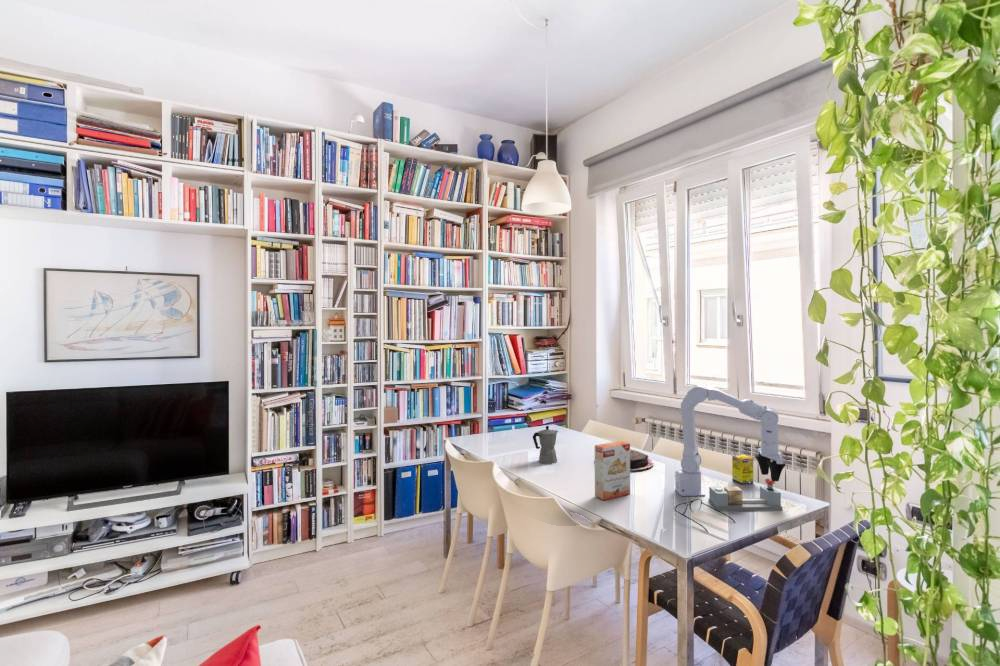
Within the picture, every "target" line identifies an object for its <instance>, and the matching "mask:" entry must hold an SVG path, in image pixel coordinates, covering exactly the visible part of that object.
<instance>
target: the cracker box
mask: <svg viewBox="0 0 1000 666" xmlns="http://www.w3.org/2000/svg"><path fill="white" fill-rule="evenodd" d="M630 449H631V443H628V442H625V441H623V440H619V441H612V442H605V443H601V444H599V443H598V444H594V496H595V497H596V498H598V499H600V500H602V501H606V500H610V499H615V498H618V497H622V496H627V495H631V472H630Z"/></svg>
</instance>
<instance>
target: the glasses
mask: <svg viewBox="0 0 1000 666" xmlns="http://www.w3.org/2000/svg"><path fill="white" fill-rule="evenodd" d="M697 500H700V507H699V508H698V510H700V509H701V507H702V504H703V505H704V506H707V507H709V508H710V509H713V510H715V511H716V512H718V513H720V514H722V515H724V516H725V517H727V518H729V519H730V520H731V521H733V523H734V524H737V523H736V521H735V519H733V517H732V516H729V515H728V514H727V513H724V512H723V511H718V510H717V509H716V508H715V507H712V506H711V505H709V504H706V503H704V502H703V500H702V499H701V498H696V499H694V500H691V501H687V502H682V503H678V504H677V505H676V506H675V507H674V512H675V513H678V514H679V515H681V516H683V517H685V518H687V519H688V520H691V522H694V523H696V524H697V525H699V526H701V527H702V528H703V529H704V531H706V532H707V533H709V531H708V530H707V528H705V526H703V524H701V523H699V522H697V521H695V520H694V519H692V518H690V517H689V516H687V515H685V513H686V512H687V509H688V506H689V509H690V510H691V512H694V511H693V510H692V508H691V506H692V503H694V502H695V501H697ZM683 504H684V505H686V507H685V509H684V512H683V513H681V512H680V511H678V510H677V507H678V506H681V505H683ZM674 516H675V517H676V516H677V515H676V514H674Z"/></svg>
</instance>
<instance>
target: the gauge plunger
mask: <svg viewBox="0 0 1000 666" xmlns="http://www.w3.org/2000/svg"><path fill="white" fill-rule="evenodd" d="M764 483H766V486H767V490H768V491H773V488H774V485H775V483H776V481H772V479H771V478H765V479H764Z"/></svg>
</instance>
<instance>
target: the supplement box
mask: <svg viewBox="0 0 1000 666" xmlns="http://www.w3.org/2000/svg"><path fill="white" fill-rule="evenodd" d="M731 460H732V461H731V462H732V464H731V466H732V468H731V470H732V472H731V473H732V475H731V477H732V478H731V479H732V481H733V482H735V483H737V484H740V485H742V486H743V485H748V484H754V457H752V456H750V455H749V456H748V455H746V454H738V455H732V459H731ZM749 482H751V483H749Z"/></svg>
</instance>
